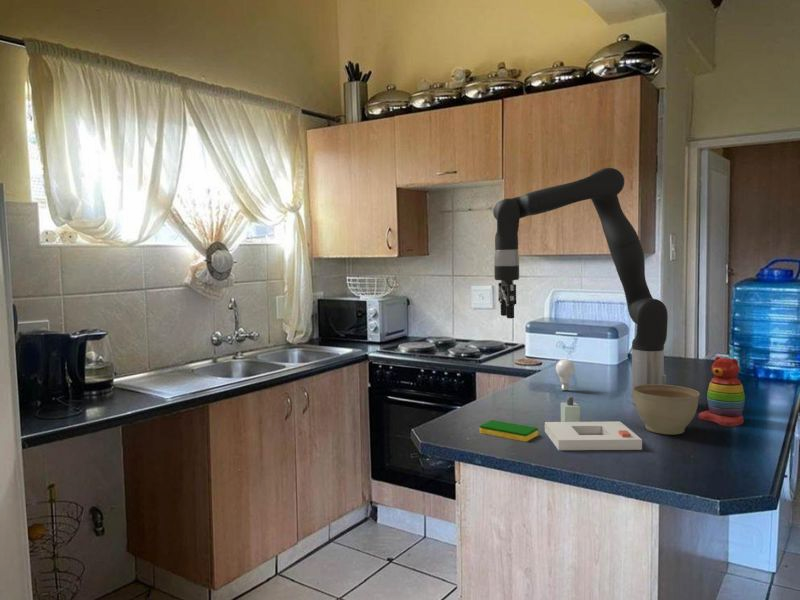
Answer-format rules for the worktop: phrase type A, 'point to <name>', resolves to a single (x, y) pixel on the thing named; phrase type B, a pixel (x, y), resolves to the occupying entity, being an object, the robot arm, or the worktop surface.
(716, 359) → the stacking bear
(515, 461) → the worktop surface
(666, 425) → the planter bowl
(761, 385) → the worktop surface
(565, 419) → the plug
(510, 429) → the dish sponge
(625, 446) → the socket plate
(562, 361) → the lightbulb
